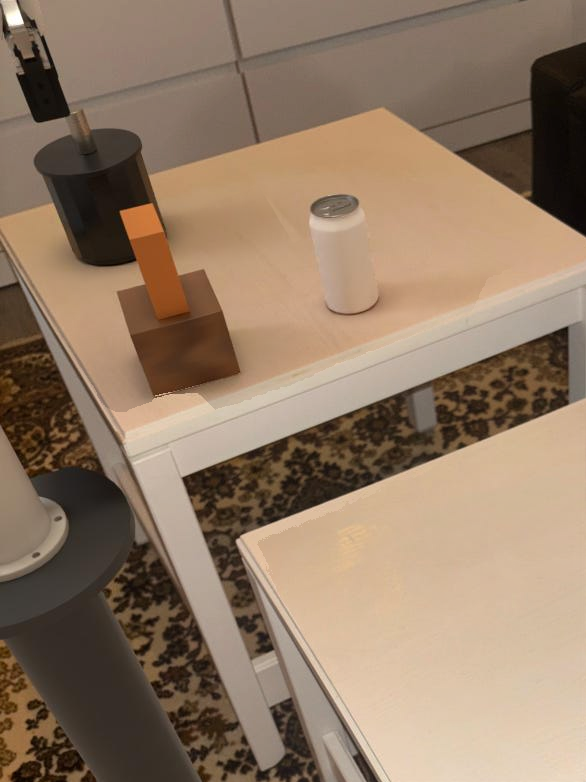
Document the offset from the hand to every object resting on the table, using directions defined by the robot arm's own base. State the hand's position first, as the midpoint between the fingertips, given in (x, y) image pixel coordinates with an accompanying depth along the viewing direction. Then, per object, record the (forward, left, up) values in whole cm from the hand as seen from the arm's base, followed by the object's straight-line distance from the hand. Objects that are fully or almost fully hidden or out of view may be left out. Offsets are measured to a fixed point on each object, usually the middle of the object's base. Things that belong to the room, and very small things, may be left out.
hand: (47, 99), depth 90 cm
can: (+25, +4, -30) cm, 39 cm away
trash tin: (+1, +35, -30) cm, 46 cm away
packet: (+4, 0, -22) cm, 22 cm away
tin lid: (+1, +35, -18) cm, 39 cm away
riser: (+4, 0, -30) cm, 30 cm away
